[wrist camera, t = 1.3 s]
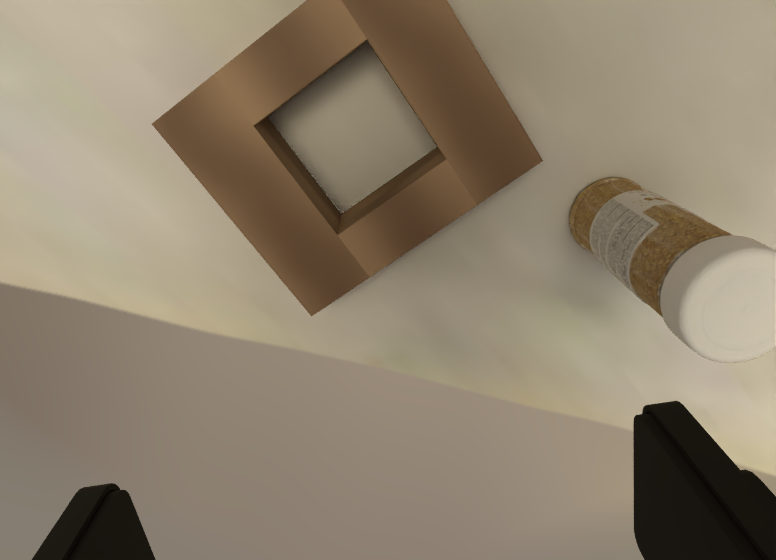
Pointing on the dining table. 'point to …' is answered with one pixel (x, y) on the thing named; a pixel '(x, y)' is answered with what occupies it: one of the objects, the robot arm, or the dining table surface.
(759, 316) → the sprinkles bottle
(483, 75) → the socket board
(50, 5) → the dining table surface
